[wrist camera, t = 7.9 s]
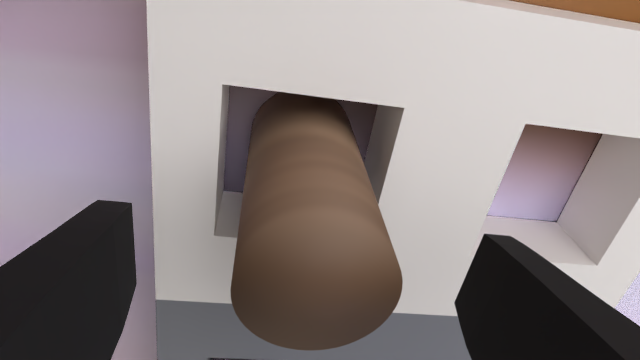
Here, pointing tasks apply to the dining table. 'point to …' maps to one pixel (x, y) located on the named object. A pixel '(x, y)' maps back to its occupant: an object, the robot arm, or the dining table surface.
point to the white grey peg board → (392, 149)
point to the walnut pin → (310, 231)
